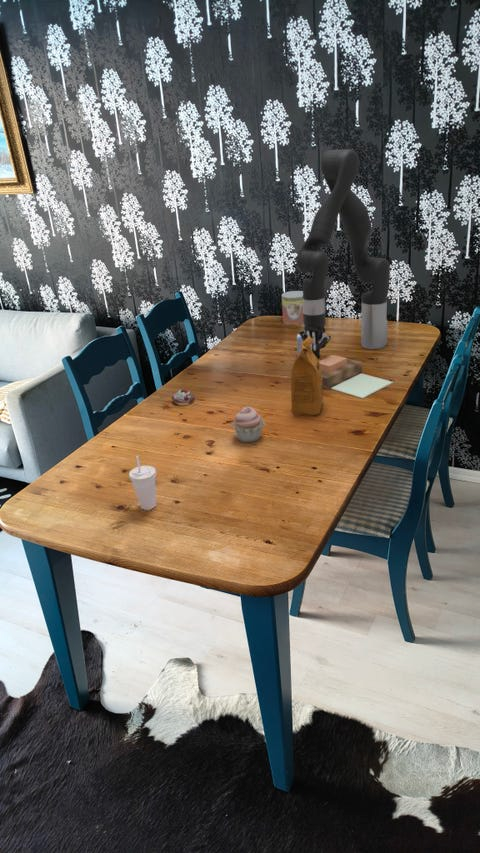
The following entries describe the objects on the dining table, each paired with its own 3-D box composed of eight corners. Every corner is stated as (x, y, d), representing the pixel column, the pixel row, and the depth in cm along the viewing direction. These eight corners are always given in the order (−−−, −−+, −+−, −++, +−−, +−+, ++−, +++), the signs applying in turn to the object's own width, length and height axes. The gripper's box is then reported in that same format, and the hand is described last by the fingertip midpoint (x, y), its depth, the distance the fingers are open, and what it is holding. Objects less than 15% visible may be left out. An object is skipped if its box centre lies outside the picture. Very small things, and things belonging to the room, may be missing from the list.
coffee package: (327, 401, 196) (326, 335, 187) (320, 418, 186) (318, 349, 176) (297, 399, 199) (294, 334, 190) (287, 416, 189) (284, 348, 179)
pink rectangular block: (333, 360, 217) (333, 354, 216) (346, 364, 213) (346, 358, 212) (316, 368, 212) (315, 362, 211) (329, 372, 208) (329, 366, 207)
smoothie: (136, 500, 153) (126, 451, 147) (162, 497, 154) (153, 448, 147) (134, 515, 148) (124, 464, 141) (161, 512, 148) (152, 461, 142)
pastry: (190, 407, 202) (189, 392, 200) (169, 406, 204) (167, 392, 201) (197, 397, 209) (196, 383, 207) (176, 396, 211) (174, 383, 208)
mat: (361, 374, 214) (361, 373, 214) (392, 383, 205) (392, 381, 205) (330, 389, 205) (330, 387, 205) (362, 398, 196) (362, 397, 196)
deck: (335, 365, 223) (335, 355, 222) (362, 373, 215) (362, 362, 213) (301, 381, 213) (300, 370, 211) (327, 389, 205) (327, 378, 203)
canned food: (281, 325, 272) (280, 298, 267) (284, 317, 282) (282, 291, 277) (307, 324, 270) (306, 297, 265) (309, 316, 280) (308, 290, 275)
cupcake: (242, 449, 173) (239, 416, 168) (227, 436, 180) (224, 405, 176) (271, 439, 176) (269, 407, 172) (255, 427, 184) (253, 397, 180)
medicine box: (318, 354, 235) (318, 332, 231) (318, 358, 231) (318, 336, 227) (297, 355, 236) (296, 333, 232) (297, 359, 232) (296, 337, 228)
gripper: (336, 311, 207) (337, 360, 214) (307, 305, 216) (308, 352, 224) (321, 316, 202) (322, 366, 210) (292, 310, 212) (294, 358, 219)
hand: (315, 359), depth 217 cm, fingers closed
